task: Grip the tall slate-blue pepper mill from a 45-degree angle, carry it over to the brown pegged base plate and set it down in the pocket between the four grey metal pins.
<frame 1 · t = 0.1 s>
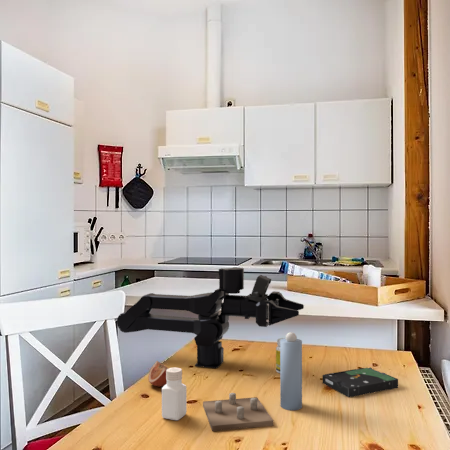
hand: (301, 309, 119), 17 cm above the table, tool horizontal, fingers open, 9 cm apart
fruit slice: (162, 385, 111), on the table
pepper mill: (291, 405, 98), on the table
brown pegged base plate: (236, 415, 93), on the table
supplement bottle: (284, 372, 121), on the table
disk drive: (359, 388, 110), on the table
white plastic bottle: (174, 417, 93), on the table
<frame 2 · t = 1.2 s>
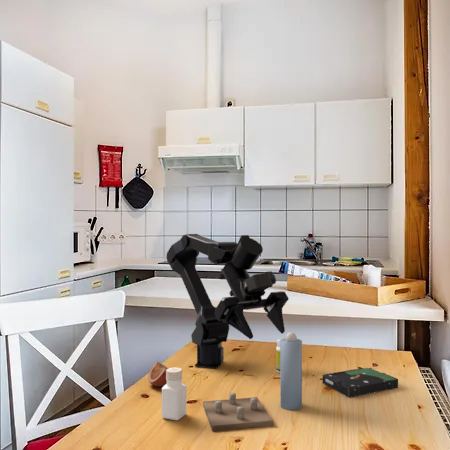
hand: (268, 335, 105), 14 cm above the table, tool tilted 45°, fingers open, 9 cm apart
nothing on the table moved.
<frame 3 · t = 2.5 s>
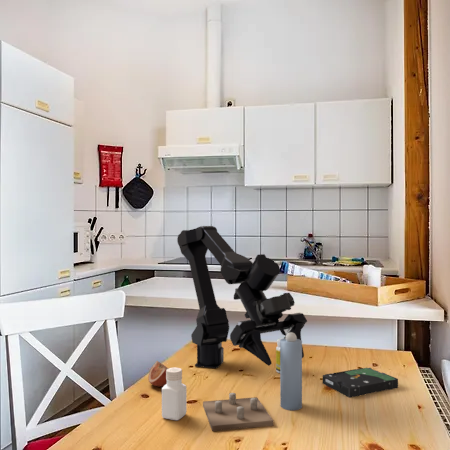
hand: (286, 361, 99), 9 cm above the table, tool tilted 45°, fingers open, 9 cm apart
nothing on the table moved.
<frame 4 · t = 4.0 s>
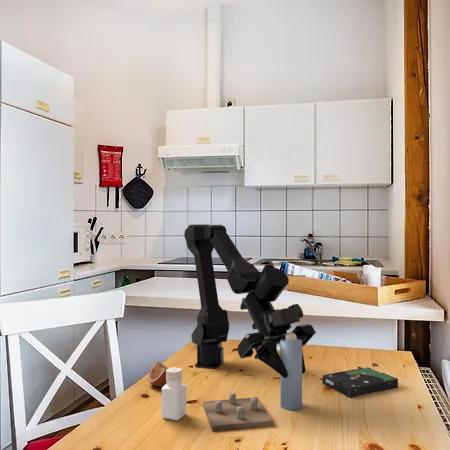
hand: (295, 374, 97), 7 cm above the table, tool tilted 45°, fingers closed on pepper mill, 5 cm apart
pepper mill: (291, 405, 98), on the table, touching gripper
everything else where it was.
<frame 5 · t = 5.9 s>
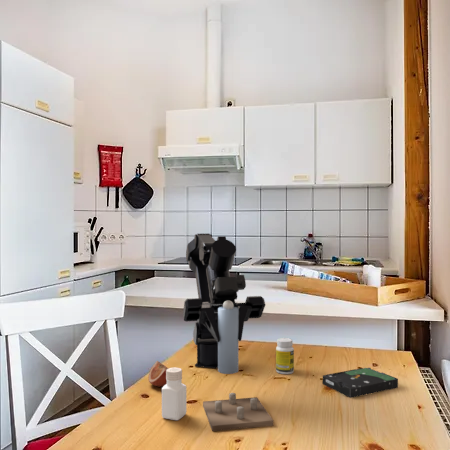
hand: (229, 340, 101), 13 cm above the table, tool tilted 45°, fingers closed on pepper mill, 5 cm apart
pepper mill: (228, 370, 103), point 6 cm above the table, touching gripper
everything else where it was.
when the fingers open (9 cm above the table, at t = 8.0 s): pepper mill drops 1 cm, resting on brown pegged base plate.
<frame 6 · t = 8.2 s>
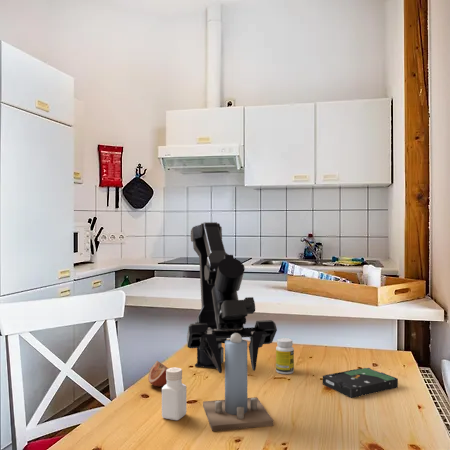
hand: (237, 370, 92), 10 cm above the table, tool tilted 45°, fingers open, 7 cm apart
pepper mill: (236, 410, 93), point 1 cm above the table, touching brown pegged base plate
everything else where it was.
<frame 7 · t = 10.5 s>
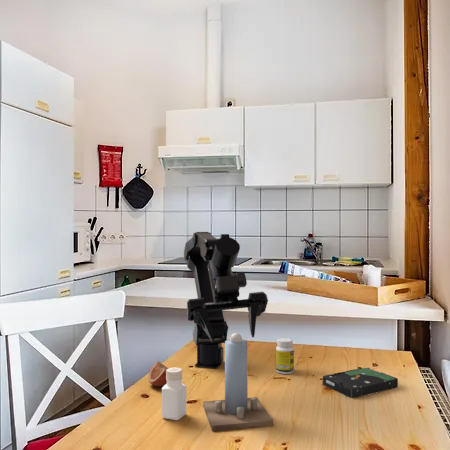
hand: (233, 339, 102), 13 cm above the table, tool tilted 40°, fingers open, 9 cm apart
nothing on the table moved.
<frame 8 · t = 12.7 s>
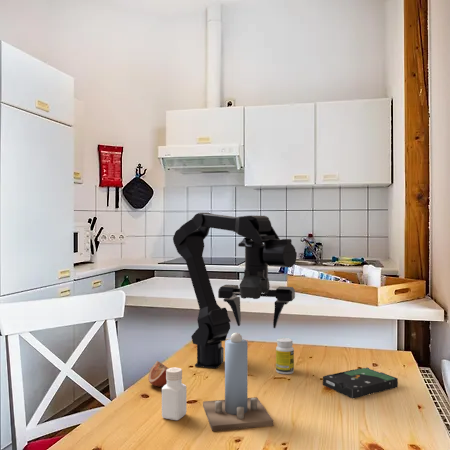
hand: (256, 326, 116), 13 cm above the table, tool pointing down, fingers open, 9 cm apart
nothing on the table moved.
at the end: pepper mill 0.1 cm from the brown pegged base plate (horizontally); pepper mill tilted 1°; the gripper is holding nothing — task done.
